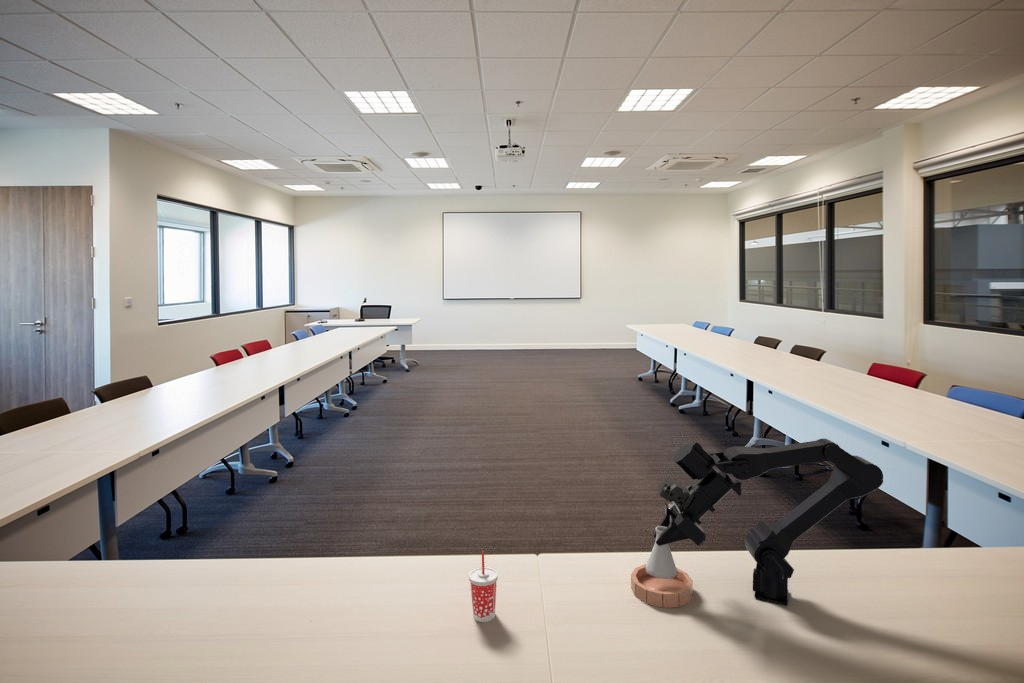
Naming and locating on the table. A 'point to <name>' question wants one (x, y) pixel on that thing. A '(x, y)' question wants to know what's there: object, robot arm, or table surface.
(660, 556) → the flask
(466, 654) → the table surface
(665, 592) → the bowl
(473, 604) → the beverage cup
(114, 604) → the table surface
